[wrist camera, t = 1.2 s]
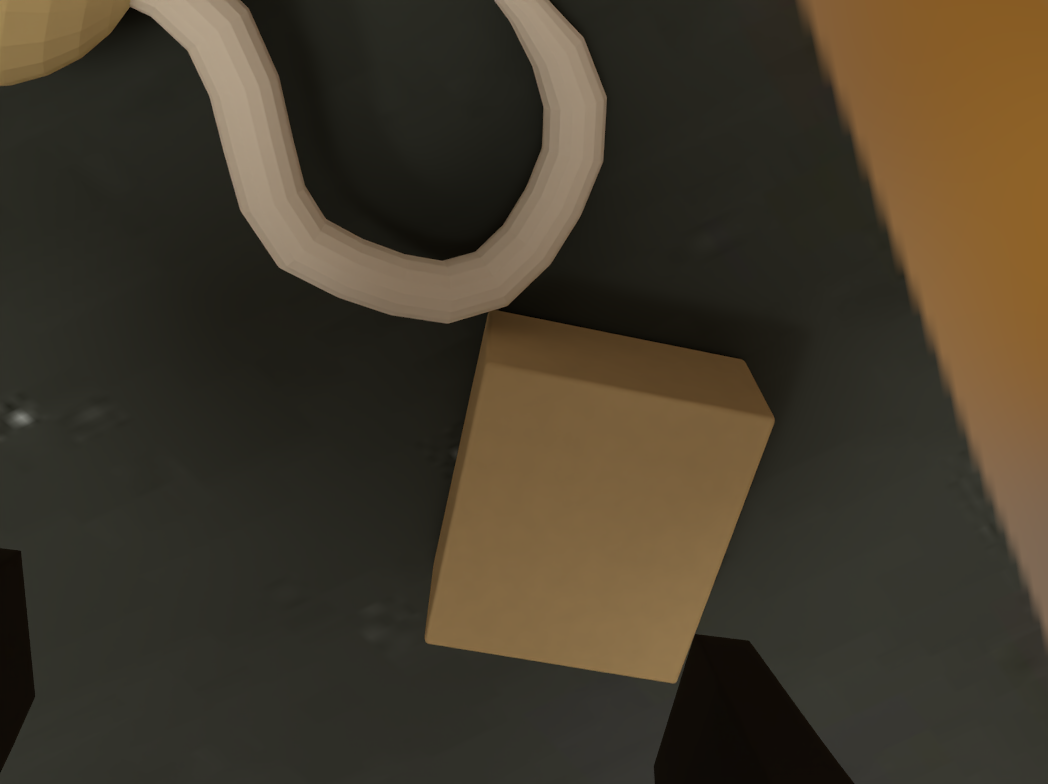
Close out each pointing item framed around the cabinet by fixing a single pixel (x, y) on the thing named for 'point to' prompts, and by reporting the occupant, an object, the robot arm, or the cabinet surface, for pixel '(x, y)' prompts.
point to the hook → (274, 171)
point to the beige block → (592, 497)
